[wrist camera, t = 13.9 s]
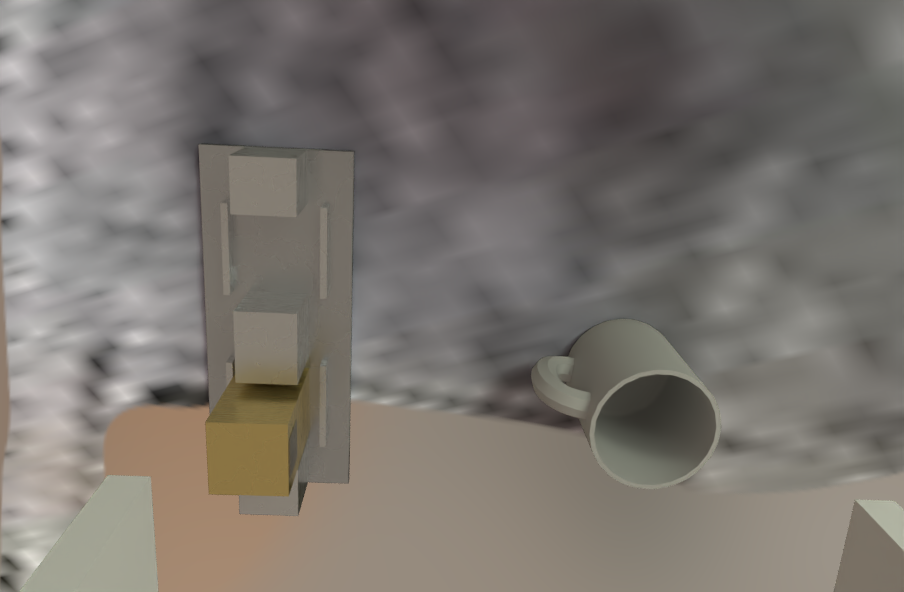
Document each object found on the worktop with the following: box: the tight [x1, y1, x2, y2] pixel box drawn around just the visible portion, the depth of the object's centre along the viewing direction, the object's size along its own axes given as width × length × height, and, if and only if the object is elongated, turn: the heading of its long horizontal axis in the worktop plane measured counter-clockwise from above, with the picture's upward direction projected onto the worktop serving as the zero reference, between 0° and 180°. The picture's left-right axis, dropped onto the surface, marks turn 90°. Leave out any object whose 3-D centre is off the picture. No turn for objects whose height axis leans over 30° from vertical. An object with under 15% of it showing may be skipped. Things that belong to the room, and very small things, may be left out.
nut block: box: [205, 368, 310, 497], centre depth 47 cm, size 4×4×8 cm
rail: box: [199, 143, 355, 516], centre depth 48 cm, size 22×9×5 cm, turn 177°
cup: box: [531, 319, 721, 489], centre depth 47 cm, size 7×10×9 cm
